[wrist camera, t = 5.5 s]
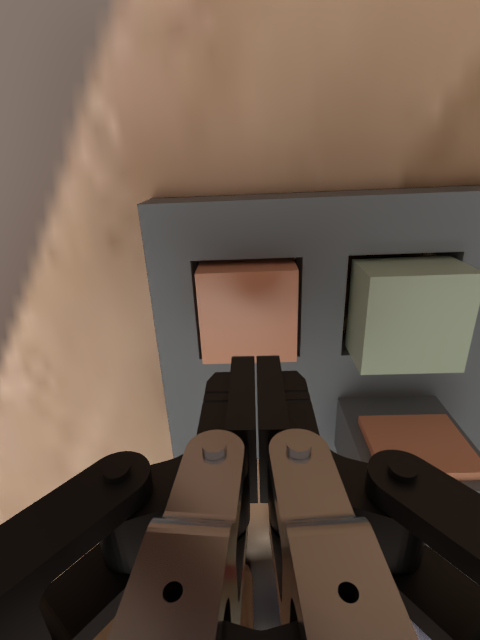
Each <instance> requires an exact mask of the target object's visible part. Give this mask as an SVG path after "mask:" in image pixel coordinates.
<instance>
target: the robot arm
mask: <svg viewBox="0 0 480 640" xmlns="http://www.w3.org/2000/svg"><path fill="white" fill-rule="evenodd" d="M256 358H257V407H258V441H259V474H260V503H268V505H269V535H270V542H271V550H272V557H273V565H274V572H275V580H276V587H277V595H278V602H279V610H280V619H281V626H278V627H274V628H271V629H268V630H263V631H258V630H254V629H251V628H248V627H244V626H241V625H240V619H241V604H242V593H243V582H244V570H245V559H246V547H247V536H248V527H247V526H248V524H249V520H250V503H258V493H257V448H256V404H255V360H254V356H232V359H231V369H230V372H215V373H214V374H213V375H212V376H211V377H210V378H209V380H208V381H207V383H206V388H205V394H204V399H203V404H202V409H201V414H200V419H199V425H198V430H197V435H196V436H195V437H193V438H192V439H191V440H190V441H189V442H188V444H187V446H186V448H185V451H184V453H183V454H182V455H180V456H178V457H176V458H174V459H171V460H168V461H164V462H161V463H157V464H153V465H150V464H149V461H148V460H147V458H146V457H145V456H143V455H142V454H140V453H137V452H132V451H123V452H117V453H114V454H110V455H108V456H106V457H104V458H102V459H100V460H99V461H97V462H96V463H94V464H93V465H91V466H90V467H88V468H87V469H85V470H84V471H82V472H81V473H79V474H77V475H76V476H74V477H73V478H71V479H70V480H68V481H67V482H65V483H64V484H62V485H61V486H59V487H58V488H56V489H55V490H53V491H52V492H50V493H48V494H47V495H45V496H44V497H42V498H41V499H39V500H38V501H36V502H35V503H33V504H32V505H30V506H29V507H27V508H26V509H24V510H22V511H21V512H19V513H18V514H16V515H15V516H13V517H12V518H10V519H9V520H7V521H6V522H4V523H3V524H1V525H0V640H93V639H94V638H95V637H96V636H97V635H98V634H99V633H100V632H101V631H102V630H103V629H104V628H105V627H106V626H107V625H108V624H109V623H110V622H111V621H112V620H113V619H114V618H115V619H114V621H113V624H112V627H111V630H110V632H109V635H108V638H107V640H419V639H418V637H417V634H416V632H415V630H414V627H413V625H412V622H411V620H412V621H413V622H414V623H415V624H416V625H417V626H418V627H419V628H420V629H421V630H422V631H423V632H424V633H425V634H427V635H428V636H429V637H430V638H431V639H432V640H480V493H478V492H476V491H475V490H473V489H471V488H470V487H468V486H466V485H465V484H463V483H461V482H460V481H458V480H456V479H455V478H453V477H451V476H450V475H448V474H446V473H445V472H443V471H441V470H440V469H438V468H436V467H435V466H433V465H431V464H430V463H428V462H426V461H425V460H423V459H421V458H420V457H418V456H416V455H414V454H411V453H409V452H405V451H401V450H383V451H379V452H377V453H375V454H374V455H373V456H372V457H371V458H370V459H369V462H368V463H366V462H362V461H358V460H353V459H350V458H346V457H343V456H341V455H339V454H337V453H335V452H333V451H332V450H330V449H329V446H328V444H327V443H326V441H325V440H324V439H323V438H322V437H321V436H320V434H319V430H318V426H317V422H316V418H315V414H314V410H313V406H312V402H311V399H310V395H309V392H308V387H307V383H306V379H305V378H304V377H303V376H302V375H301V374H300V373H299V372H298V371H282V370H281V363H280V357H279V355H271V356H256ZM98 543H99V544H98ZM97 544H98V545H97ZM427 545H428V546H429V547H430V548H429V547H428V546H427ZM94 546H95V547H94ZM93 547H94V548H93ZM92 548H93V549H92ZM431 548H432V549H433V550H434V551H433V550H432V549H431ZM91 549H92V550H91ZM89 550H90V551H89ZM88 551H89V552H88ZM435 551H436V552H437V553H438V554H437V553H436V552H435ZM87 552H88V553H87ZM86 553H87V554H86ZM83 555H84V556H83ZM440 555H441V556H442V557H443V558H442V557H441V556H440ZM82 556H83V557H82ZM81 557H82V558H81ZM80 558H81V559H80ZM444 558H445V559H446V560H447V561H446V560H445V559H444ZM77 560H78V561H77ZM76 561H77V562H76ZM448 561H449V562H450V563H451V564H450V563H449V562H448ZM75 562H76V563H75ZM74 563H75V564H74ZM71 565H72V566H71ZM453 565H454V566H455V567H456V568H455V567H454V566H453ZM70 566H71V567H70ZM69 567H70V568H69ZM68 568H69V569H68ZM457 568H458V569H459V570H460V571H459V570H458V569H457ZM66 569H67V570H66ZM65 570H66V571H65ZM64 571H65V572H64ZM461 571H462V572H463V573H464V574H463V573H462V572H461ZM63 572H64V573H63ZM62 573H63V574H62ZM60 574H61V575H60ZM59 575H60V576H59ZM466 575H467V576H468V577H469V578H468V577H467V576H466ZM58 576H59V577H58ZM57 577H58V578H57ZM470 578H471V579H472V580H473V581H472V580H471V579H470ZM54 579H55V580H54ZM53 580H54V581H53ZM52 581H53V582H52ZM474 581H475V582H476V583H477V584H478V585H477V584H476V583H475V582H474ZM51 582H52V583H51ZM410 619H411V620H410Z"/></svg>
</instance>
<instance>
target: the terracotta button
mask: <svg viewBox="0 0 480 640" xmlns="http://www.w3.org/2000/svg"><path fill="white" fill-rule="evenodd" d="M195 285H196V296H197V307H198V318H199V329H200V340H201V351H202V362H203V364H231V359H232V356H254V360H255V363H257V358H256V356H271V355H279V357H280V362H297V328H298V285H299V270H298V267H297V265H296V263H295V261H294V259H293V258H264V259H235V260H206V261H200V263H199V265H198V267H197V269H196V272H195Z"/></svg>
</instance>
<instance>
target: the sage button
mask: <svg viewBox="0 0 480 640" xmlns="http://www.w3.org/2000/svg"><path fill="white" fill-rule="evenodd" d="M479 305H480V270H479V269H476V268H474V267H472V266H470V265H468V264H466V263H464V262H462V261H460V260H458V259H456V258H454V257H452V256H430V257H401V258H372V259H352V266H351V278H350V291H349V303H348V316H347V328H346V341H345V346H346V348H347V350H348V352H349V354H350V356H351V358H352V360H353V361H354V363H355V365H356V367H357V369H358V371H359V373H360V375H384V374H425V373H464V371H465V366H466V362H467V358H468V353H469V349H470V344H471V340H472V336H473V331H474V327H475V323H476V318H477V314H478V310H479Z"/></svg>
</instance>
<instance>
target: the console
mask: <svg viewBox="0 0 480 640" xmlns="http://www.w3.org/2000/svg"><path fill="white" fill-rule="evenodd" d="M137 205H138V212H139V219H140V226H141V233H142V240H143V247H144V254H145V261H146V268H147V275H148V282H149V289H150V296H151V303H152V310H153V317H154V324H155V331H156V338H157V345H158V352H159V359H160V366H161V373H162V380H163V387H164V394H165V401H166V408H167V415H168V422H169V429H170V436H171V443H172V450H173V457H174V458H176V457H178V456H180V455H182V454H183V453H184V451H185V448H186V446H187V444H188V442H189V441H190V440H191V439H192V438H193V437H195V436H196V435H197V430H198V425H199V419H200V414H201V409H202V404H203V399H204V394H205V388H206V383H207V381H208V380H209V378H210V377H211V376H212V375H213V374H214V373H215V372H230V369H231V364H203V362H202V351H201V340H200V329H199V318H198V307H197V296H196V285H195V272H196V269H197V267H198V261H206V260H235V259H264V258H293V257H296V265H297V267H298V270H299V285H298V328H297V362H280V363H281V370H282V371H298V372H299V373H300V374H301V375H302V376H303V377H304V378H305V379H306V383H307V387H308V392H309V395H310V399H311V402H312V406H313V410H314V414H315V418H316V422H317V426H318V430H319V434H320V436H321V437H322V438H323V439H324V440H325V441H326V443H327V444H328V446H329V449H330V450H332V451H333V452H335V453H337V454H339V455H341V456H343V457H346V458H350V459H353V460H358V461H362V462H366V463H368V462H369V459H370V458H371V457H372V456H373V455H374V454H375V453H377V452H379V451H383V450H401V451H405V452H409V453H411V454H414V455H416V456H418V457H420V458H421V459H423V460H425V461H426V462H428V463H430V464H431V465H433V466H435V467H436V468H438V469H440V470H441V471H443V472H445V473H446V474H448V475H450V476H451V477H453V478H455V479H456V480H458V481H460V482H461V483H463V484H465V485H466V486H468V487H470V488H471V489H473V490H475V491H476V492H478V493H480V305H479V310H478V314H477V318H476V323H475V327H474V331H473V336H472V340H471V344H470V349H469V353H468V358H467V362H466V366H465V371H464V373H425V374H384V375H360V373H359V371H358V369H357V367H356V365H355V363H354V361H353V360H352V358H351V356H350V354H349V352H348V350H347V348H346V346H345V341H346V333H343V323H344V309H345V296H346V283H347V270H348V257H349V256H351V255H379V254H408V253H435V256H452V257H454V258H456V259H458V260H460V261H462V262H464V263H466V264H468V265H470V266H472V267H474V268H476V269H479V270H480V185H474V186H450V187H425V188H400V189H375V190H350V191H325V192H300V193H275V194H250V195H225V196H200V197H175V198H151V199H149V200H147V201H144V202H142V203H140V204H137ZM255 404H256V448H257V459H259V441H258V407H257V363H255ZM427 546H428V545H427ZM428 547H429V546H428Z"/></svg>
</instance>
